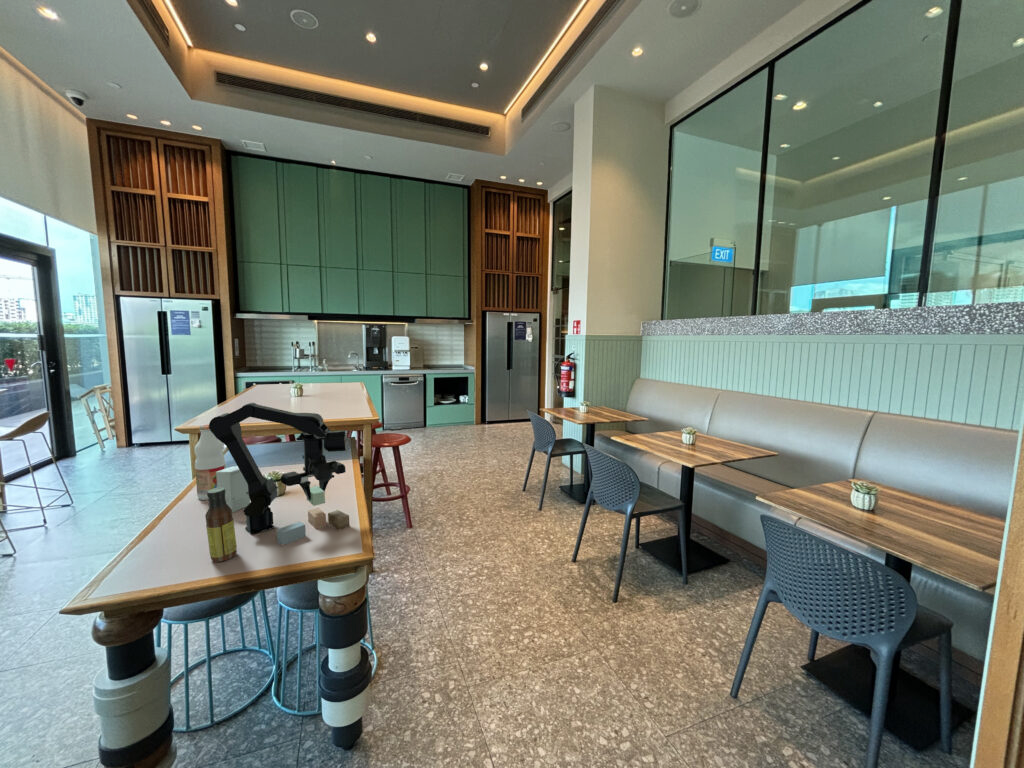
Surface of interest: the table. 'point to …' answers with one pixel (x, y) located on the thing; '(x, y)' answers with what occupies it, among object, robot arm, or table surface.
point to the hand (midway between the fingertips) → (315, 498)
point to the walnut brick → (338, 520)
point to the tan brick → (316, 517)
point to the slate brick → (291, 533)
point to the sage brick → (317, 496)
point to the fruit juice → (207, 461)
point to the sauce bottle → (220, 527)
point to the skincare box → (233, 487)
